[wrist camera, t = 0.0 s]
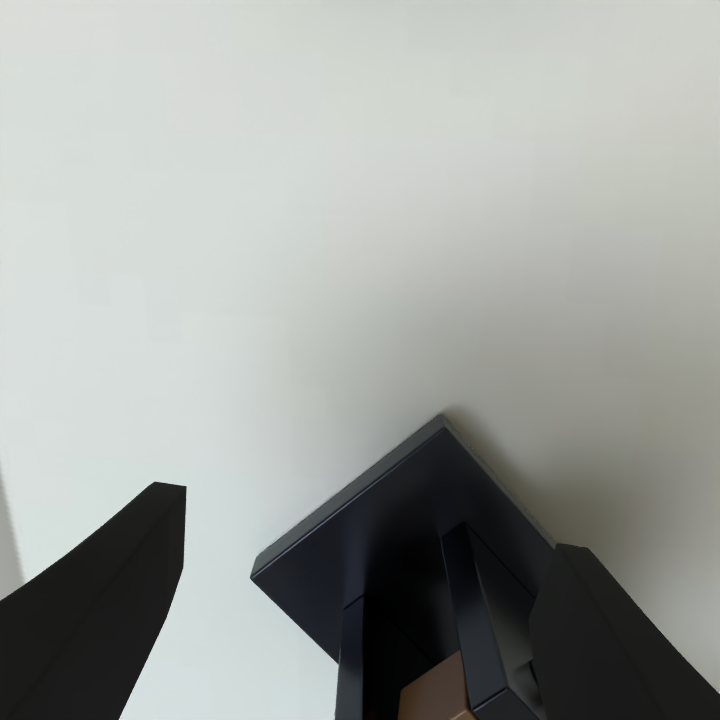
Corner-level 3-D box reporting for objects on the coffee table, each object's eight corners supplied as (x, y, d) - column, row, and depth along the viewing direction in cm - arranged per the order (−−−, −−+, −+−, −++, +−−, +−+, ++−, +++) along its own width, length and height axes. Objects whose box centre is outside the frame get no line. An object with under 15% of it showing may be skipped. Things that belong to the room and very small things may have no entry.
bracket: (625, 621, 22) (760, 856, 14) (442, 740, 23) (474, 1010, 16) (440, 412, 20) (481, 553, 12) (254, 557, 21) (188, 762, 14)
